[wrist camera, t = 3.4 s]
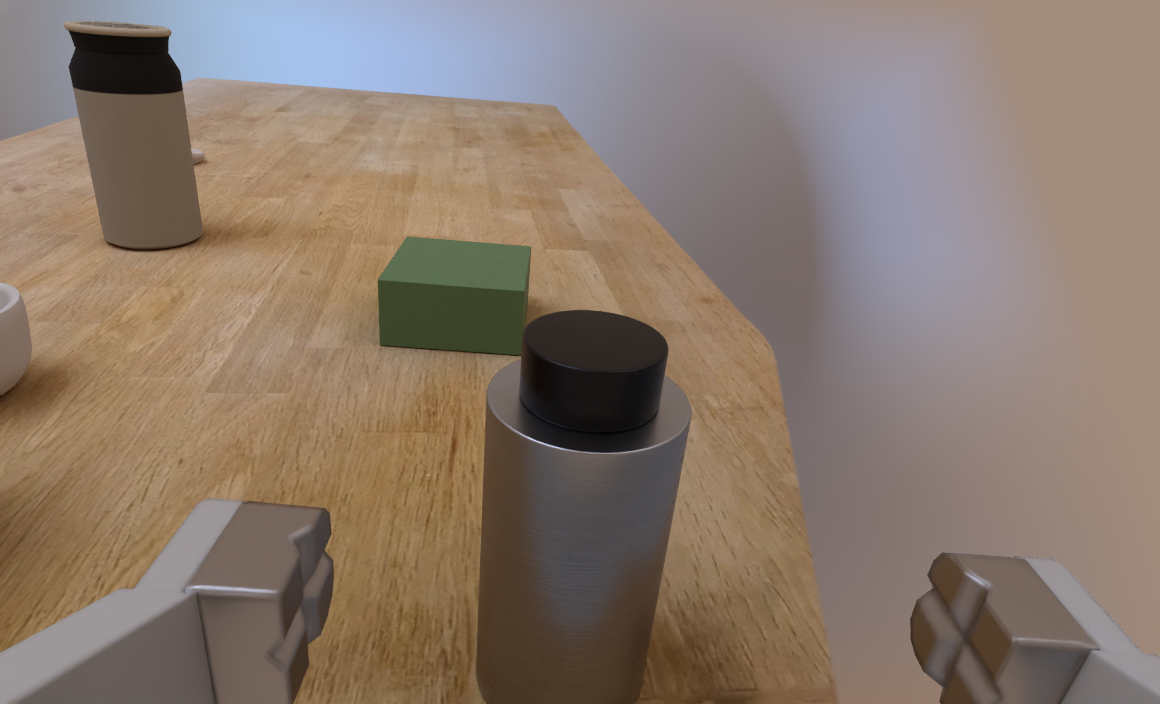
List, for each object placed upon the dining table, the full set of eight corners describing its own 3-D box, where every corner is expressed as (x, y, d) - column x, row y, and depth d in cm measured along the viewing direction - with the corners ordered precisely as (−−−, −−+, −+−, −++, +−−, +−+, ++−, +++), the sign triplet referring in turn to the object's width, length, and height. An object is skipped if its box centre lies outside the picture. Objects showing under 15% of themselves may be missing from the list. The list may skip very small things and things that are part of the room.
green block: (527, 303, 60) (531, 246, 58) (520, 355, 51) (524, 290, 49) (407, 294, 60) (406, 236, 57) (379, 345, 51) (377, 279, 48)
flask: (634, 607, 31) (685, 305, 25) (650, 746, 25) (721, 398, 19) (484, 599, 30) (498, 291, 24) (466, 738, 25) (477, 380, 18)
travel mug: (173, 255, 63) (137, 31, 55) (83, 246, 63) (34, 21, 55) (219, 230, 70) (193, 29, 62) (138, 221, 70) (102, 20, 62)
